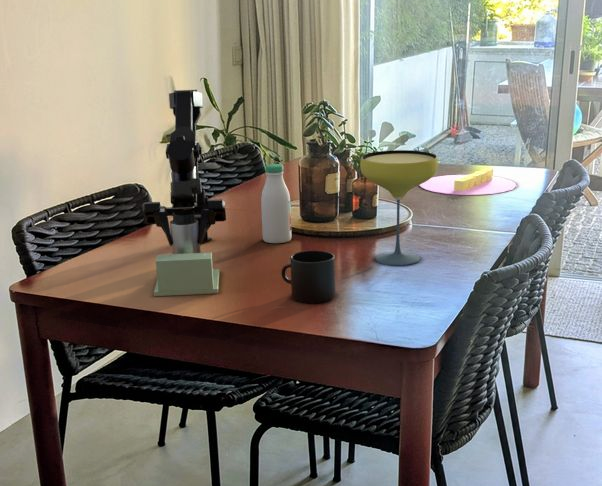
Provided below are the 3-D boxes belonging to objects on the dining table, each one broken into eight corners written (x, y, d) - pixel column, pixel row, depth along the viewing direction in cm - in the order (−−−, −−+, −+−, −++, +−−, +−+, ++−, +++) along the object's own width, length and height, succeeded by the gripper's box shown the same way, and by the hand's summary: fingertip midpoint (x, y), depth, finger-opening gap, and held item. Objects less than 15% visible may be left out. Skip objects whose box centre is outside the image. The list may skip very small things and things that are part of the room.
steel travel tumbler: (170, 270, 200) (165, 211, 195) (196, 266, 203) (191, 208, 198) (179, 278, 195) (174, 217, 190) (206, 273, 198) (201, 213, 192)
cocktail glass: (348, 255, 216) (347, 154, 206) (411, 245, 222) (413, 147, 213) (382, 274, 200) (383, 166, 191) (449, 263, 206) (453, 158, 197)
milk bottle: (288, 244, 226) (285, 168, 219) (259, 243, 228) (256, 167, 220) (294, 236, 233) (292, 162, 226) (266, 236, 235) (263, 162, 227)
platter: (531, 180, 292) (532, 170, 291) (491, 199, 268) (492, 188, 267) (446, 172, 310) (446, 162, 309) (401, 188, 286) (402, 178, 285)
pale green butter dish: (159, 275, 204) (156, 242, 201) (219, 273, 204) (217, 240, 202) (154, 296, 190) (150, 261, 187) (218, 293, 191) (215, 258, 188)
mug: (290, 286, 193) (289, 247, 190) (341, 291, 189) (340, 252, 186) (274, 300, 185) (272, 259, 182) (326, 305, 181) (325, 264, 178)
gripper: (139, 167, 193) (138, 228, 187) (222, 164, 194) (224, 224, 188) (145, 194, 203) (145, 252, 197) (225, 190, 204) (227, 249, 198)
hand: (185, 244), depth 195 cm, fingers closed on steel travel tumbler, 6 cm apart
